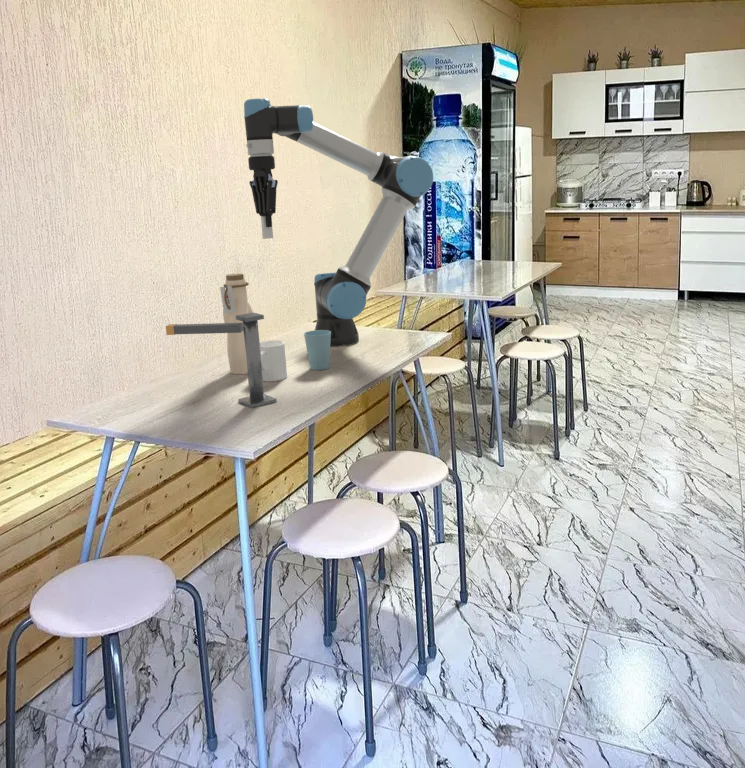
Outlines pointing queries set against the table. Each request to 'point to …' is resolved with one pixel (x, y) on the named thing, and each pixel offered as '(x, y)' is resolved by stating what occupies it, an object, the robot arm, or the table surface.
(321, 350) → the cup
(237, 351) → the water bottle
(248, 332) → the post
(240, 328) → the bar
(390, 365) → the table surface
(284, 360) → the mug
